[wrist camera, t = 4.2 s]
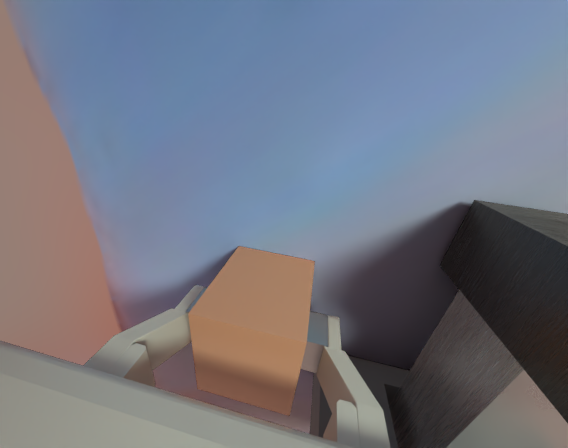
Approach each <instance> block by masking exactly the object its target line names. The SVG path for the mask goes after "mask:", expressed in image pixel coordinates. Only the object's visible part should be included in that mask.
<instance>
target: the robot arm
mask: <svg viewBox="0 0 568 448" xmlns="http://www.w3.org/2000/svg"><path fill="white" fill-rule="evenodd" d="M207 288H208V287H204V286H200V285H195V286H194V287H193V288H192V289H191V290H190V291H189V292H188V294H187V295H186V296H185V297H184V298H183V299H182V301H181V302H180V303H179V304H178V305H177V307H176V308H175V309H172V308H171V309H169V310H167V311H165V312H163V313H161V314H159V315H157V316H154V317H152V318H150V319H148V320H146V321H144V322H142V323H140V324H138V325H136V326H133V327H131V328H129V329H127V330H125V331H123V332H121V333H119V334H117V335H115V336H113V337H112V338H111V339H110V340H109V341H108V342H107V343H106V344H105V345H104V346H103V347H102V348H101V349H100V350H99V351H98V352H97V353H96V354H95V355H94V356H93V357H91V359H90V360H88V361H87V362H86V363H85V364H84V365H79V364H76V363H73V362H69V361H66V360H63V359H59V358H56V357H53V356H49V355H46V354H43V353H39V352H36V351H33V350H29V349H26V348H23V347H20V346H16V345H13V344H10V343H6V342H3V341H0V448H390V443H389V438H388V432H387V427H386V422H385V417H384V412H383V409H382V408H381V406H380V405H379V403H378V402H377V400H376V399H375V397H374V395H373V394H372V392H371V391H370V389H369V388H368V386H367V385H366V383H365V382H364V380H363V379H362V377H361V375H360V374H359V372H358V371H357V369H356V368H355V366H354V365H353V363H352V362H351V360H350V359H349V357H348V355H347V354H346V352H345V351H342V350H341V336H340V320H339V317H335V316H330V315H326V314H321V313H317V312H312V311H310V315H309V325H308V335H307V344H306V348H305V352H304V357H303V361H302V365H301V369H303V370H307V371H310V372H313V373H317V374H316V375H317V377H318V380H319V382H320V385H321V387H322V390H323V392H324V395H325V397H326V400H327V402H328V405H329V407H330V409H331V412H332V415H331V418H330V420H329V422H328V425H327V427H326V430H325V432H324V435H323V438H322V437H318V436H315V435H312V434H308V433H305V432H302V431H298V430H295V429H292V428H288V427H285V426H282V425H279V424H275V423H272V422H269V421H265V420H262V419H259V418H255V417H252V416H249V415H245V414H242V413H239V412H235V411H232V410H229V409H226V408H222V407H219V406H216V405H212V404H209V403H206V402H202V401H199V400H196V399H192V398H189V397H186V396H182V395H179V394H176V393H172V392H169V391H166V390H162V389H159V388H156V387H154V386H155V379H154V375H153V371H152V370H154V369H155V368H157V367H158V366H159V365H161V364H162V363H163V362H165V361H166V360H167V359H169V358H170V357H171V356H173V355H174V354H175V353H177V352H178V351H180V350H181V349H182V348H184V347H185V346H186V345H188V344H189V343H190V342H192V341H191V332H190V324H189V316H188V313H189V312H190V310H191V309H192V308H193V306H194V305H195V304H196V302H197V301H198V300H199V298H200V297H201V296H202V294H203V293H204V292H205V290H206V289H207Z"/></svg>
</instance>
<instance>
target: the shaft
mask: <svg viewBox="0 0 568 448" xmlns="http://www.w3.org/2000/svg"><path fill="white" fill-rule="evenodd" d="M440 266H441V268H442V269H443V270H444V271H445V273H446V274H447V275H448V276H449V278H450V279H451V280H452V281H453V283H454V284H455V285H456V286H457V287H458V289H459V291H458V293H457V294H456V296H455V298H454V299H453V301H452V302H451V304H450V306H449V307H448V309H447V311H446V312H445V314H444V316H443V317H442V319H441V320H440V322H439V324H438V325H437V327H436V329H435V330H434V332H433V334H432V335H431V337H430V338H429V340H428V342H427V343H426V345H425V347H424V348H423V350H422V352H421V353H420V355H419V356H418V358H417V360H416V361H415V363H414V365H413V366H412V368H411V370H410V371H409V373H408V374H407V376H406V378H405V379H404V381H403V383H402V384H401V386H400V388H399V389H398V391H397V392H396V394H395V396H394V397H393V399H392V401H391V402H390V404H389V408H390V413H391V418H392V422H393V427H394V431H395V436H396V440H397V445H398V448H568V214H564V213H557V212H551V211H544V210H537V209H531V208H524V207H517V206H511V205H504V204H498V203H491V202H484V201H478V200H474V202H473V204H472V206H471V207H470V209H469V211H468V213H467V215H466V217H465V219H464V221H463V223H462V225H461V226H460V228H459V230H458V232H457V234H456V236H455V238H454V240H453V242H452V244H451V245H450V247H449V249H448V251H447V253H446V255H445V257H444V259H443V261H442V263H441V265H440Z"/></svg>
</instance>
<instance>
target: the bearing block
mask: <svg viewBox="0 0 568 448" xmlns="http://www.w3.org/2000/svg"><path fill="white" fill-rule="evenodd" d="M348 357H349V359H350V360H351V362H352V363H353V365H354V366H355V368H356V369H357V371H358V372H359V374H360V375H361V377H362V379H363V380H364V382H365V383H366V385H367V386H368V388H369V389H370V391H371V392H372V394H373V395H374V397H375V399H376V400H377V402H378V403H379V405H380V406H381V408H382V409H383V412H384V417H385V422H386V427H387V432H388V438H389V443H390V448H398V445H397V440H396V436H395V431H394V427H393V422H392V418H391V413H390V408H389V404H390V402H391V401H392V399H393V397H394V396H395V394H396V392H397V391H398V389H399V388H400V386H401V384H402V383H403V381H404V379H405V378H406V376H407V374H408V373H409V371H408V370H404V369H400V368H396V367H392V366H388V365H384V364H380V363H376V362H372V361H368V360H364V359H360V358H356V357H352V356H348ZM316 374H317V373H314V376H313V389H312V405H311V422H310V434H312V435H315V436H318V437H322V438H323V435H324V432H325V430H326V427H327V425H328V422H329V420H330V418H331V415H332V412H331V409H330V407H329V405H328V402H327V400H326V397H325V395H324V392H323V390H322V387H321V385H320V382H319V380H318V377H317V375H316Z"/></svg>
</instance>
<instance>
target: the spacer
mask: <svg viewBox="0 0 568 448" xmlns="http://www.w3.org/2000/svg"><path fill="white" fill-rule="evenodd" d="M314 264H315V261H312V260H307V259H302V258H296V257H291V256H286V255H281V254H276V253H271V252H266V251H261V250H256V249H251V248H246V247H241V246H239V247H238V248H237V249H236V251H235V252H234V253H233V255H232V256H231V257H230V259H229V260H228V261H227V263H226V264H225V265H224V267H223V268H222V269H221V271H220V272H219V273H218V275H217V276H216V277H215V279H214V280H213V281H212V283H211V284H210V285H209V286H208V288H207V289H206V290H205V292H204V293H203V294H202V296H201V297H200V298H199V300H198V301H197V302H196V304H195V305H194V306H193V308H192V309H191V310H190V312H189V313H188V316H189V324H190V332H191V341H192V349H193V357H194V365H195V373H196V381H197V389H199V390H203V391H206V392H210V393H213V394H216V395H220V396H223V397H227V398H230V399H233V400H237V401H240V402H244V403H247V404H250V405H254V406H257V407H261V408H264V409H267V410H271V411H274V412H278V413H281V414H284V415H288V416H290V412H291V408H292V403H293V399H294V395H295V391H296V386H297V382H298V378H299V374H300V369H301V365H302V361H303V357H304V352H305V348H306V344H307V335H308V325H309V315H310V305H311V294H312V284H313V274H314Z"/></svg>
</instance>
